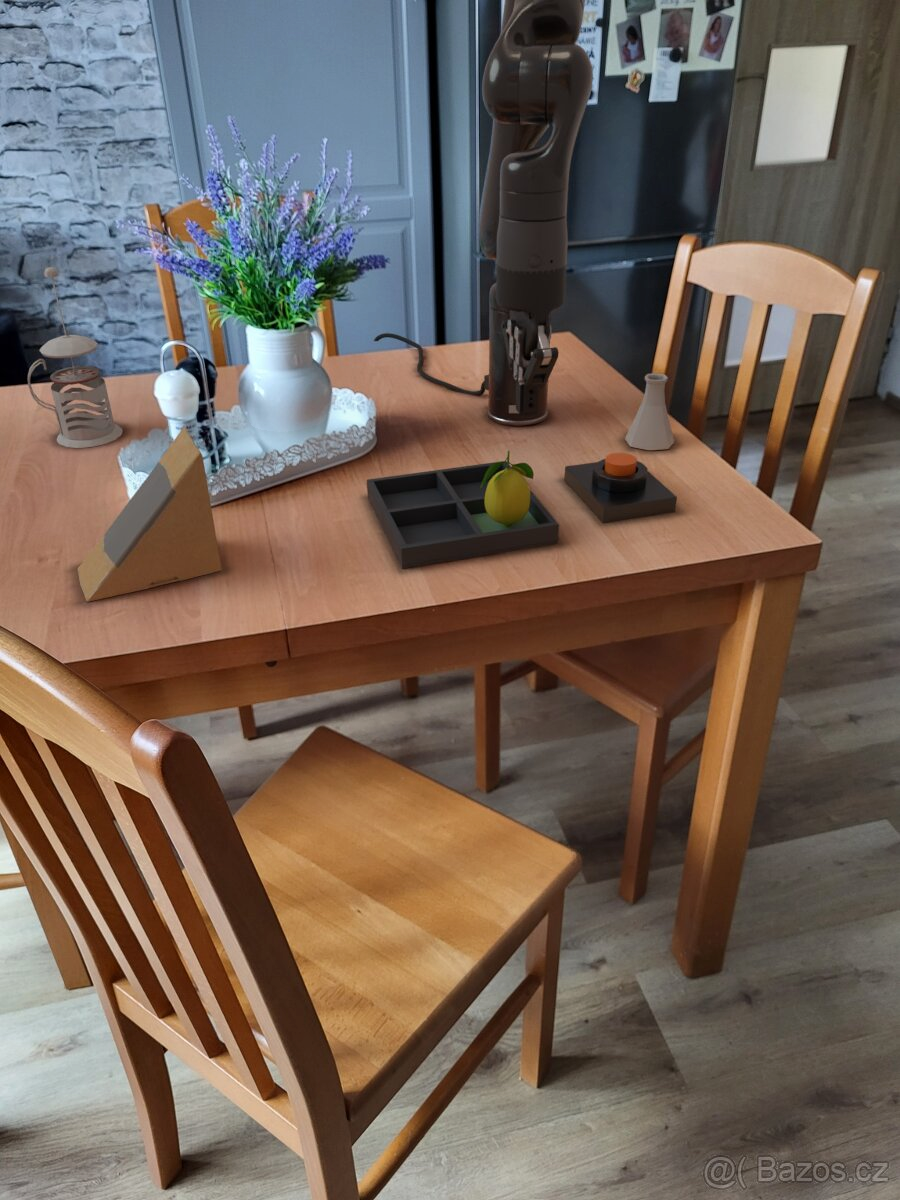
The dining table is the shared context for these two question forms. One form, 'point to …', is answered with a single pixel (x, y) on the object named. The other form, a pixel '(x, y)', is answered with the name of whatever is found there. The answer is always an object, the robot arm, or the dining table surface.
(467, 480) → the tray
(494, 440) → the dining table surface
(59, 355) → the french press
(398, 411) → the dining table surface
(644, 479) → the control box
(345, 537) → the dining table surface
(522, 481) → the lemon
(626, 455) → the button
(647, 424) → the flask
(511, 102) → the robot arm
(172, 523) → the sandwich container
